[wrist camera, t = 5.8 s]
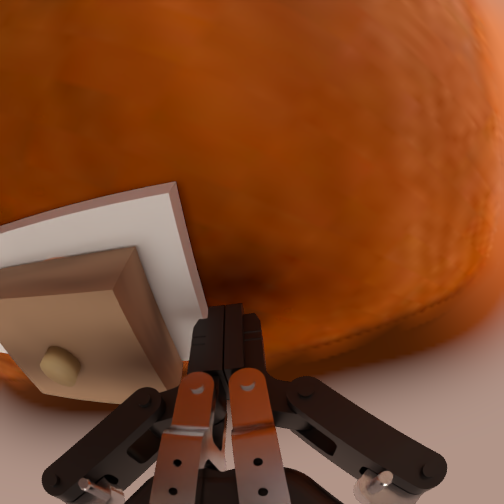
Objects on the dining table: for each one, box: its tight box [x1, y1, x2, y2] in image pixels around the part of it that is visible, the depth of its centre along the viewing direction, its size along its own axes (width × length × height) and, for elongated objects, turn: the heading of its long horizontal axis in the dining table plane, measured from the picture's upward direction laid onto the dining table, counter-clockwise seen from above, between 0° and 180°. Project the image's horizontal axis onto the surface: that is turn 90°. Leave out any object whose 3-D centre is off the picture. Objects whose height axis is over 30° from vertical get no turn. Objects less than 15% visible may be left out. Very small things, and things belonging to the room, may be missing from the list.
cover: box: [0, 246, 183, 404], centre depth 12 cm, size 8×10×4 cm
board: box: [0, 181, 208, 361], centre depth 13 cm, size 10×25×4 cm, turn 97°
